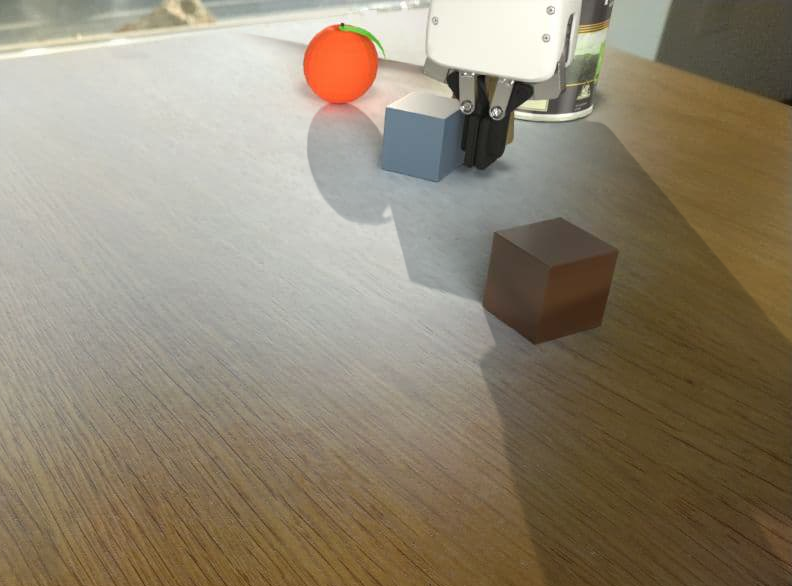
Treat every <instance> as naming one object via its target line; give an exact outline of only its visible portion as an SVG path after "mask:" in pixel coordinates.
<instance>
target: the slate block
mask: <svg viewBox="0 0 792 586" xmlns="http://www.w3.org/2000/svg"><path fill="white" fill-rule="evenodd" d="M464 118H465V114H464V113H463V112H462V111H461V110H460V103H459V101H458V99H454V98H452V97H448V96H443V95H438V94H433V93H427V92H422V91H418V90H413V91H412V92H409V93H408V94H406V95H404V96H403V97H400V98H399V99H398V100H396V101H394V102H392V103H391V104H389V105H387V106H386V107H385V111H384V121H383V122H384V123H383V125H384V126H383V135H382V148H381V159H380V170H385V171H390V172H393V173H398V174H401V175H406V176H410V177H414V178H419V179H422V180H427V181H431V182H435V183H438V182H440V181H441V180H442V179H443V178H445V177H446V176H448V175H449V174H450V173H452V172H453V171H454V170H456V169H457V168H458V167H460V166H461V165H463V163H464V155H465V151H462V150H461V141H462V134H463V126H464Z"/></svg>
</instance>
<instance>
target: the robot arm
mask: <svg viewBox="0 0 792 586" xmlns="http://www.w3.org/2000/svg"><path fill="white" fill-rule="evenodd" d="M581 5H582V0H430V1H429V7H428V15H427V20H426V21H427V22H426V29H425V41H424V45H425V46H424V47H425V48H424V49H425V54H426V58H425V62H424V65H423V73H424V75H426V77H429V78H431V79H434V80H436V81H437V82H439V83H442V84H446V85H447V87H448V88H449V89H450V90H451V92H452V94H453V93H454V95H455V96H456V98H457V99H458V101H459V103H460V110H461V111H462V112H463V113H464V114H465V118H464V126H463V134H462V141H461V150H462V151H465V155H464V162H463V163H462V166H463V167H465V168H472V167H474V168H475V169H476V170H478V171H485V170H486V169H487V168H489V167H490V166H492V164H494V163H496V162H497V160H498V159H500V158H501V157H502V156H504V153H505V150H506V147H507V145H506V139H507V133H508V127H509V120H510V114H511V112H512V111H513V110H515V109H516V108H518V107H519V106H520V105H522V104H523V103H524V102H526V101H527V100H549V99H556V98H558V97H559V96H561V95H562V94H563V93H564V92H565V91H566V73H565V68H566V67H567V66H569V65H570V64H571V62H572V60H573V57H574V53H575V49H576V44H577V38H578V31H579V23H580V15H581ZM568 39H569V40H568ZM489 76H493V77H499V79H498V82H497V86H496V89H495V92H494V96H493V99H492V103H491V106H490V105H489V103H490V101H489Z"/></svg>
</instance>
